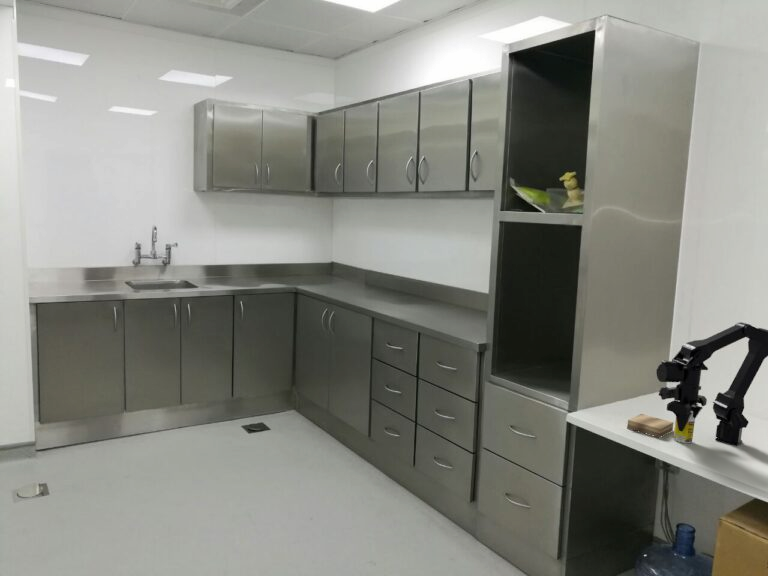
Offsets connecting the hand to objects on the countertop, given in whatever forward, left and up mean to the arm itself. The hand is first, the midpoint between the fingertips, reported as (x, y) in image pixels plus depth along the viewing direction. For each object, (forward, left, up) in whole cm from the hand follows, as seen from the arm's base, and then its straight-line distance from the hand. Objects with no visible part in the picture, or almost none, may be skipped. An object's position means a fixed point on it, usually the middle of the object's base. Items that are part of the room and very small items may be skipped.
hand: (684, 429), depth 205 cm
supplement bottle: (0, 0, -4) cm, 4 cm away
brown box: (+12, -2, -4) cm, 12 cm away
